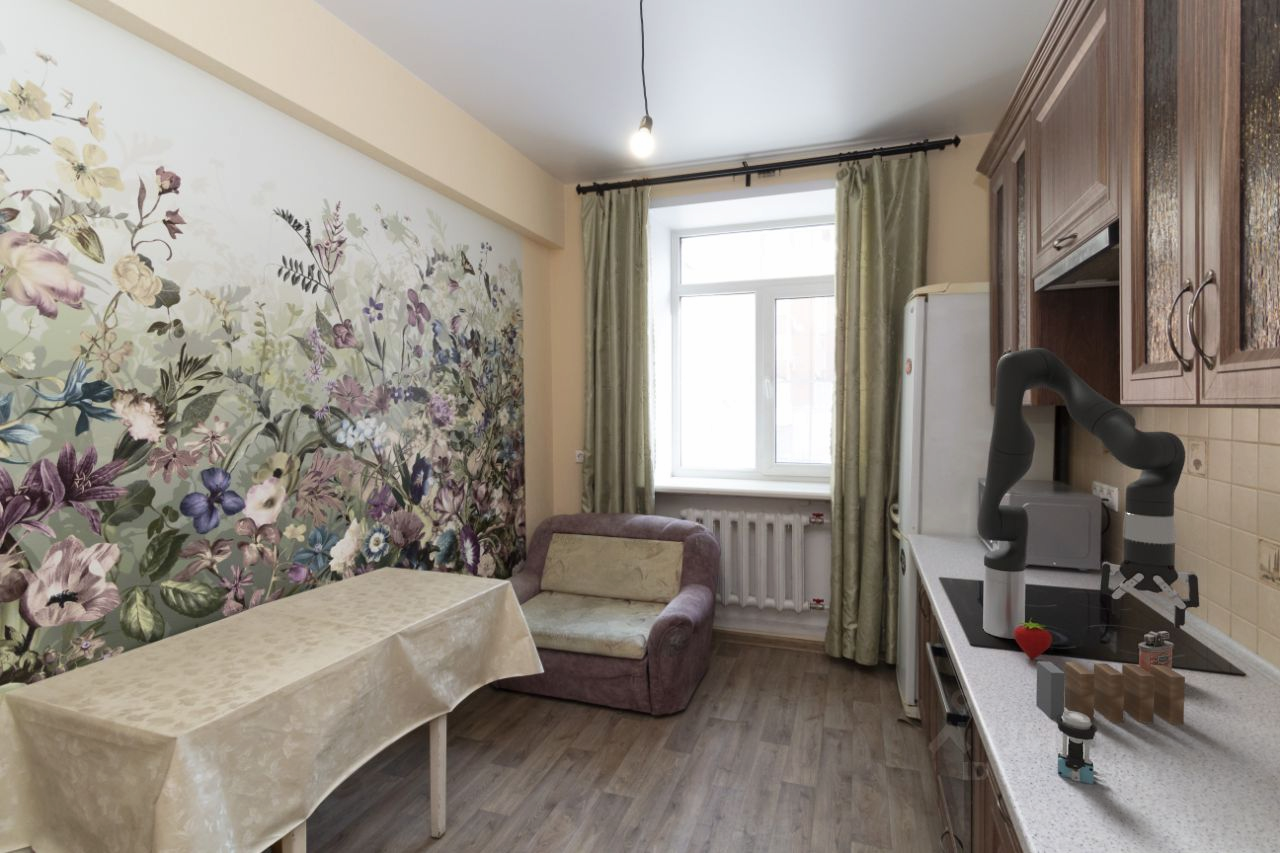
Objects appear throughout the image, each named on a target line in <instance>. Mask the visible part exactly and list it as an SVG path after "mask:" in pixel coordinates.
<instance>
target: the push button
mask: <svg viewBox="0 0 1280 853" xmlns="http://www.w3.org/2000/svg"><path fill="white" fill-rule="evenodd" d="M1055 721H1056V723H1057V728H1058V730H1059V732H1061V733H1062V742H1061V744H1062V746H1061V748H1062V750H1061V751H1060V752H1059V753H1057V774H1058V775H1059V776H1061V777H1064V778H1065V777H1066V778H1068V779H1071V780H1072V781H1076V782H1083V783H1087V784H1090V785H1093V784H1094V781H1095V782H1101V783H1104V784H1107V780H1106V778H1107V774H1104V773H1103V772H1098V771H1097V770H1096V771H1095V770H1094V763H1093V761H1092V759H1090V753H1091V752H1090V747H1091V746H1090V744H1091V740H1093V739H1094V738H1095V736H1096V732H1097V730H1098V727H1097V725H1096V724H1095V722H1093V721H1090V718H1089V717H1087V716H1086V715H1084V714H1082V713H1079V712H1075V711H1069V710H1064V712H1063V714H1060V715H1058V716H1057V717H1056V719H1055ZM1099 777H1103V778H1105V779H1103V778H1099Z"/></svg>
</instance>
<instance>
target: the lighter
mask: <svg viewBox="0 0 1280 853" xmlns="http://www.w3.org/2000/svg"><path fill="white" fill-rule="evenodd" d="M1166 639H1170V633H1169V632H1168V631H1165V630H1163V631H1157V632H1155V631H1153V630H1152V631H1149V632H1148V633H1147V634H1144V641H1142V642H1139V643H1138V647H1137V648H1138V649H1139V654H1138V655H1139V657H1138V658H1139V659H1138V666H1139V667H1140V668H1142V669H1144V670H1145V671H1147V672H1149V673H1150V674H1151V665H1165V666H1166V667H1168V668H1170V669H1172V668H1173V666H1172V664H1173V649H1174V645H1175V644H1174V643H1173V642H1171V641H1168V640H1166ZM1172 670H1173V669H1172Z"/></svg>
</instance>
